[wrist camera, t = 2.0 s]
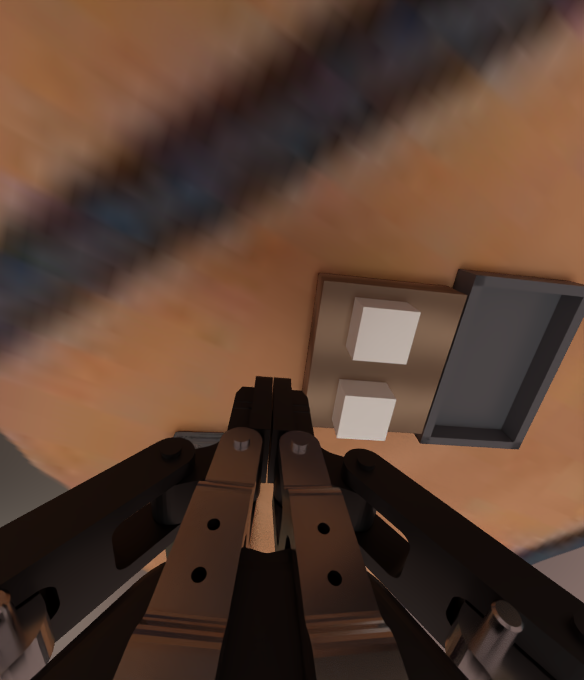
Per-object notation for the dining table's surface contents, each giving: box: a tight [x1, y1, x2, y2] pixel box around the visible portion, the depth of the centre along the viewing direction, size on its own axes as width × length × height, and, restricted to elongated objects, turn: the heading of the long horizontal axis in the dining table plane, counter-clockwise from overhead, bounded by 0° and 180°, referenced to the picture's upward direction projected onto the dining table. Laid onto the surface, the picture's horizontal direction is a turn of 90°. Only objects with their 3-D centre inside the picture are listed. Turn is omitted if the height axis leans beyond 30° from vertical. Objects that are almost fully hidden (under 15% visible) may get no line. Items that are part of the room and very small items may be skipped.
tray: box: [414, 269, 584, 449], centre depth 28 cm, size 16×10×2 cm, turn 174°
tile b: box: [332, 379, 396, 441], centre depth 26 cm, size 4×4×2 cm
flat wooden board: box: [302, 273, 467, 434], centre depth 27 cm, size 13×11×3 cm
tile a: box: [346, 297, 421, 364], centre depth 23 cm, size 4×4×2 cm
